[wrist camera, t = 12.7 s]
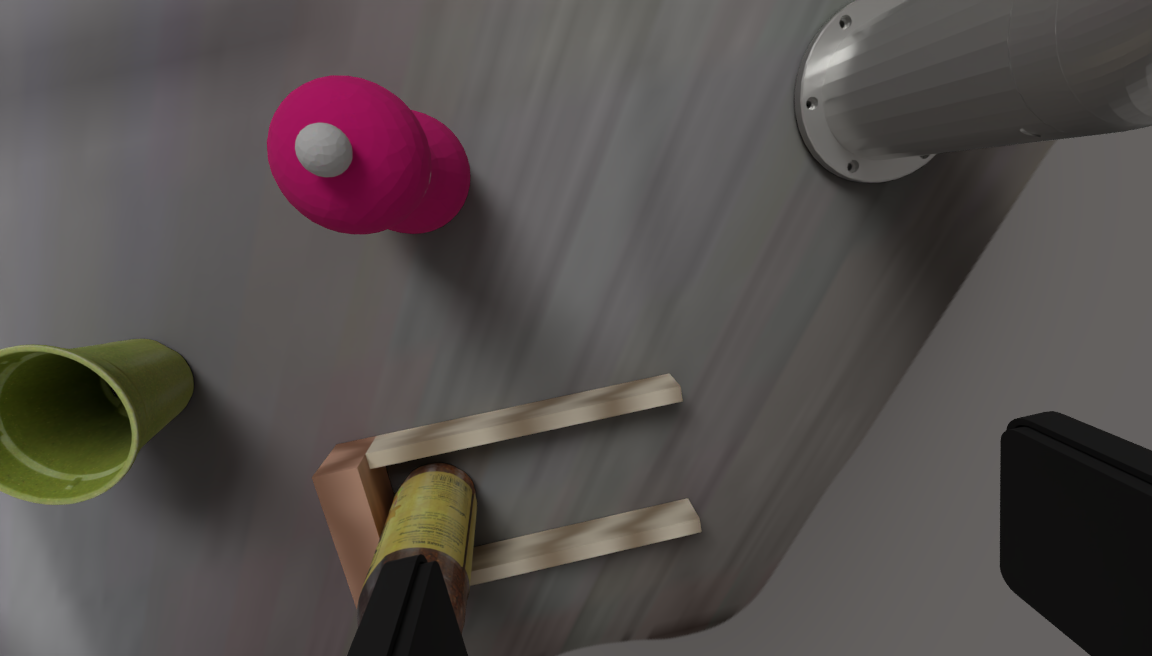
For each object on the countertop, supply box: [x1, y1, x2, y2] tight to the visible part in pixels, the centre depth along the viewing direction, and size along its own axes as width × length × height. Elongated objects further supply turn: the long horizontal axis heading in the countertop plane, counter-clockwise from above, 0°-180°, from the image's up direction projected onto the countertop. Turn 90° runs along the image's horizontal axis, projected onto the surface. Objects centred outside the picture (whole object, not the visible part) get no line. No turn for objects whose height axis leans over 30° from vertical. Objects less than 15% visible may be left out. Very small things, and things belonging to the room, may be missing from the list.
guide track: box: [312, 374, 701, 608], centre depth 40 cm, size 26×12×5 cm, turn 100°
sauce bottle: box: [357, 463, 477, 635], centre depth 33 cm, size 6×6×20 cm
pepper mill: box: [267, 76, 470, 234], centre depth 27 cm, size 7×7×20 cm
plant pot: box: [0, 339, 194, 505], centre depth 34 cm, size 9×9×9 cm
